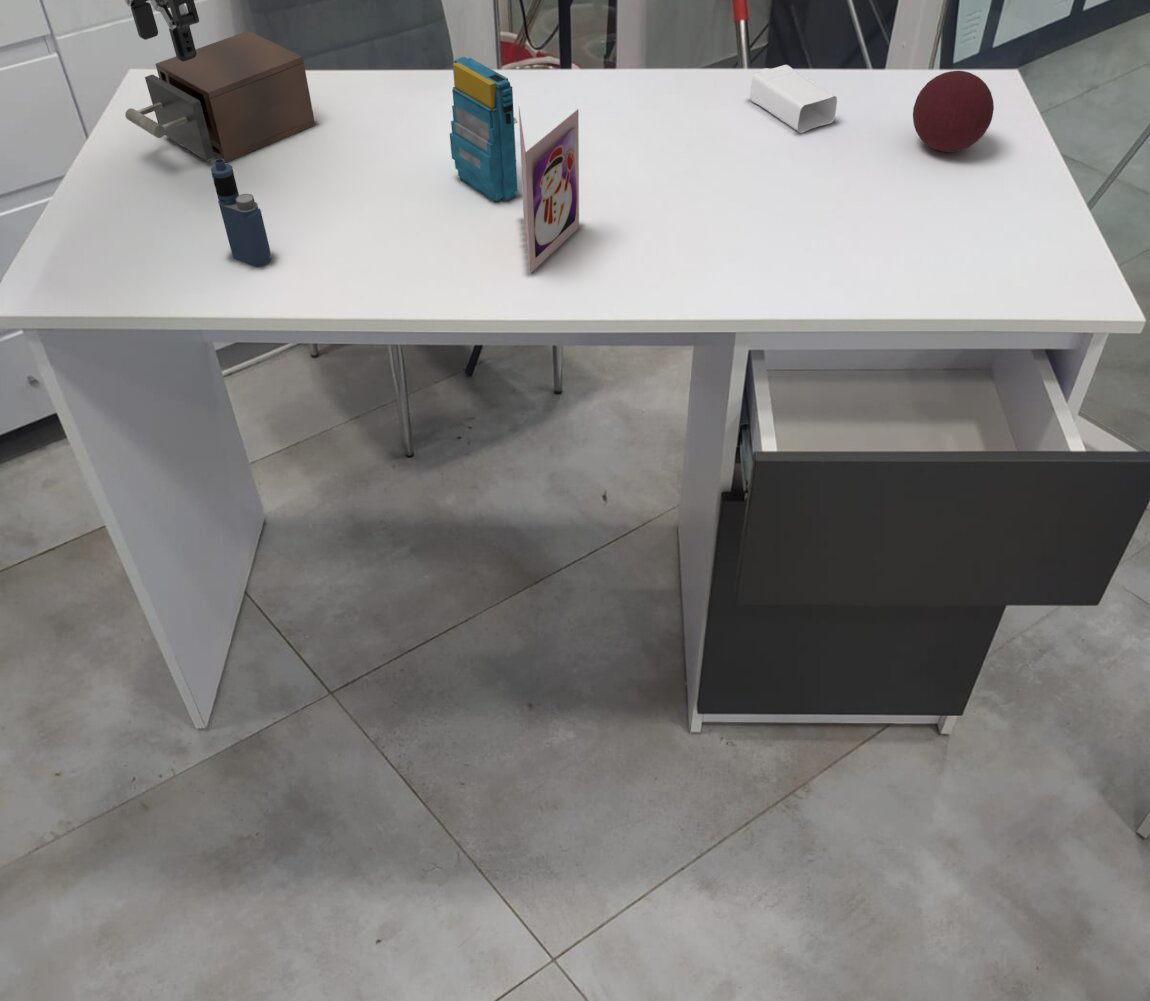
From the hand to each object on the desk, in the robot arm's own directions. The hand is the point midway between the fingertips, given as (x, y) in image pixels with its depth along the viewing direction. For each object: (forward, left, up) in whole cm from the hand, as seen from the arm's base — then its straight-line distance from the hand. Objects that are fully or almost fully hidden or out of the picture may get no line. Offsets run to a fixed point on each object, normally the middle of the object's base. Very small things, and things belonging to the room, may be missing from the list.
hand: (168, 47), depth 130 cm
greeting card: (+19, -41, -18) cm, 49 cm away
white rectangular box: (+68, -43, -18) cm, 82 cm away
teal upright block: (+24, -27, -18) cm, 40 cm away
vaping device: (-6, -19, -18) cm, 27 cm away
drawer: (+7, +9, -17) cm, 20 cm away
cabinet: (+12, +9, -18) cm, 23 cm away
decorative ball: (+73, -64, -18) cm, 99 cm away
